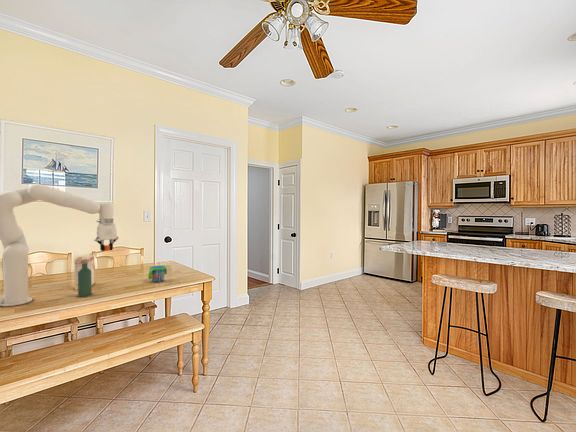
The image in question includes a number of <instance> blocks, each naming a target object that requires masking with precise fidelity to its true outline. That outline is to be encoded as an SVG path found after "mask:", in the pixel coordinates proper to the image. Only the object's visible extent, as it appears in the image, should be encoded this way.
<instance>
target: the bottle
mask: <svg viewBox="0 0 576 432" xmlns="http://www.w3.org/2000/svg"><path fill="white" fill-rule="evenodd" d="M87 264H88V263H82V268H81V269H80V270H79V271H78V290H77V297H78V298H85V297H90V296H92V290H93V289H92V286H91V270H90V269H89V268H87Z"/></svg>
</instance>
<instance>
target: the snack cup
mask: <svg viewBox="0 0 576 432" xmlns="http://www.w3.org/2000/svg"><path fill="white" fill-rule="evenodd" d="M167 274H168V270H167V266H166V265H152V266H150V267H149V270H148V276H147V277H148V279H150V280H151V282H153V283H160V282H163V281H164V280H165V275H167Z"/></svg>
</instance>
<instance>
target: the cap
mask: <svg viewBox="0 0 576 432" xmlns="http://www.w3.org/2000/svg"><path fill="white" fill-rule="evenodd" d="M108 251H109V252H110V251H111V250H110V245H109V244H104V251H103V252H108Z"/></svg>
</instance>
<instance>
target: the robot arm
mask: <svg viewBox="0 0 576 432" xmlns="http://www.w3.org/2000/svg"><path fill="white" fill-rule="evenodd" d="M37 201H42V202H45V203H49V204H52V205H56V206H58V207H59V206H60V207H63V208H69V209H73V210H76V211H79V212H84V213H87V214H91V215H95V214H98V219H97V220H96V223H98V224H97V226H96V227H97V228H96V236H95V238H94V239H93V242H96V243H98V244H99V246H100V251H101V252H105V251H104V245H105V243H104V242H105V241H109V243H108V245H110V250H109V251H113V249H114V244H115V243H116V241H118V240H119V236H118V233H117V226H116V224H115V223H114V203H113V202H111V201H100V202H97V201H94V200H90V199H88V198H85V197H81V196H78V195H75V194H72V193H70V192H66V191H64V190H60V189H57V188H54V187H51V186H49V185H48V186H47V185H44V184H41V183H34V184H31V185H30V186H27V187H23V188H20V189H15V190H6V191H3V192H1V193H0V241H1V244H2V245H1V246H2V247H3V252H2V268H3V269H2V270H3V271H2V272H3V274H2V275H3V295H1V296H0V307H15V306H20V305H24V304H25V305H26V304H28V303H30V302H32V301H33V297H32V296H29V253H30V252H29V251H30V250H29V245H28V243H27V240H26V237H25V234H24V231H23V229H22V228H21V226H19V224H18V222H17V219H16V215H15V212H14V209H15V208H16V207H19V206H23V205H27V204H29V203H33V202H37Z"/></svg>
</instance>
